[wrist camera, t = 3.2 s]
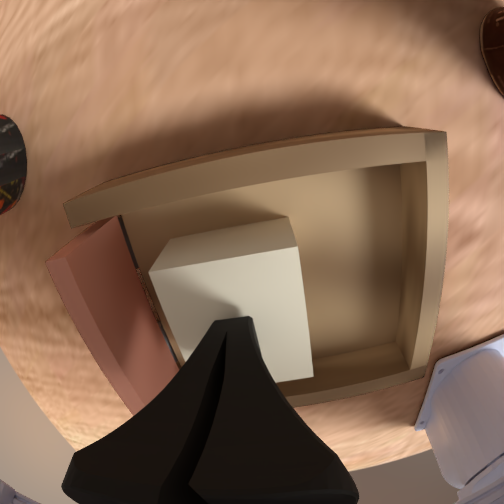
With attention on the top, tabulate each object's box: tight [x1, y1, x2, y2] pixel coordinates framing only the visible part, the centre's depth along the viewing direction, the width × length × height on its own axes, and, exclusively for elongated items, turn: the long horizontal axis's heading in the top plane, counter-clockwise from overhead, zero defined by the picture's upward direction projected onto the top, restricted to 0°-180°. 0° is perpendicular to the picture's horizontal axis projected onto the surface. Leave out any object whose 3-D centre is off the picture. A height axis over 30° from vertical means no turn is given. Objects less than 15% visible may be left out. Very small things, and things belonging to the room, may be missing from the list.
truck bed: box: [63, 126, 449, 408], centre depth 13 cm, size 12×14×4 cm
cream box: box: [148, 217, 314, 383], centre depth 12 cm, size 6×5×3 cm
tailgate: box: [45, 216, 179, 416], centre depth 13 cm, size 9×1×6 cm, turn 11°
